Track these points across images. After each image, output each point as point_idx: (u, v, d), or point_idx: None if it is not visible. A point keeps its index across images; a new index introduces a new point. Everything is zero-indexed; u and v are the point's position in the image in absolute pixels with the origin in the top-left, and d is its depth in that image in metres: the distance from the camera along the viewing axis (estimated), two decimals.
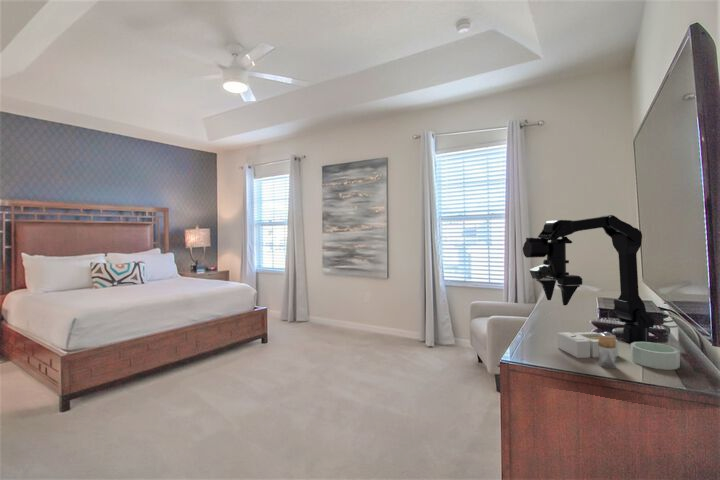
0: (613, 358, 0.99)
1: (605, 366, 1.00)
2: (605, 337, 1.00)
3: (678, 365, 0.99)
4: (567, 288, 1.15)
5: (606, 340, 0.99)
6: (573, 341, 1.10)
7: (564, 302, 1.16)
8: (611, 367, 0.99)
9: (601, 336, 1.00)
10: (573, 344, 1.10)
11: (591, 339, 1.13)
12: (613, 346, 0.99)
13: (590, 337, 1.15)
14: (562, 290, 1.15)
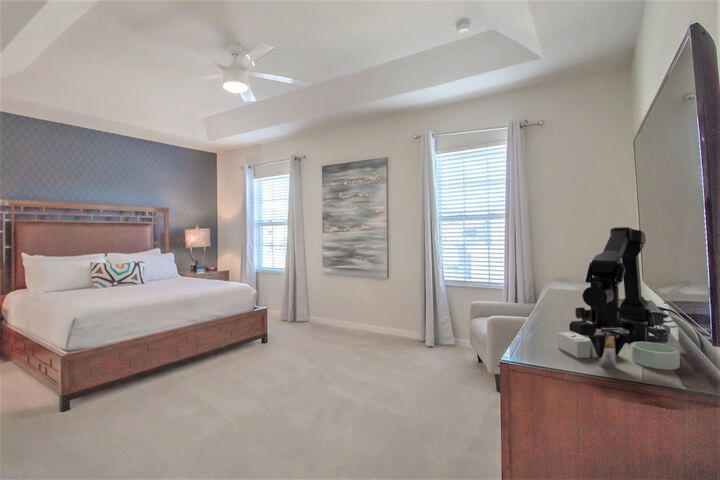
0: (613, 358, 0.99)
1: (605, 366, 1.00)
2: (605, 337, 1.00)
3: (678, 365, 0.99)
4: (595, 337, 1.01)
5: (606, 340, 0.99)
6: (573, 341, 1.10)
7: (597, 353, 1.01)
8: (611, 367, 0.99)
9: None
10: (573, 344, 1.10)
11: None
12: (613, 346, 0.99)
13: None
14: None
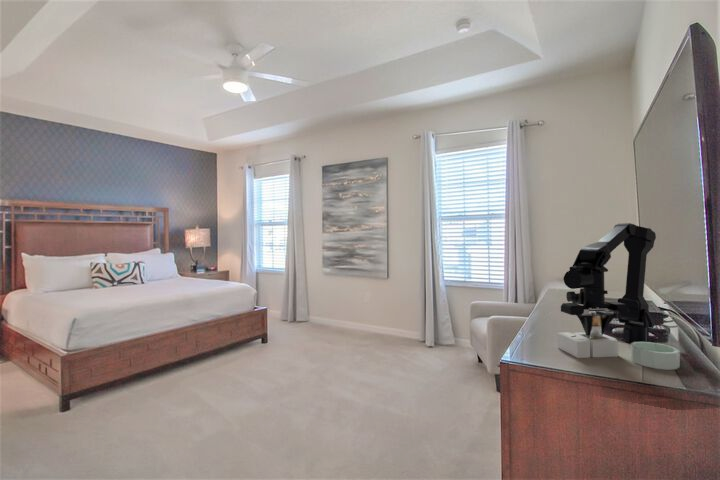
0: (599, 335, 1.11)
1: None
2: (592, 317, 1.12)
3: (678, 365, 0.99)
4: (584, 317, 1.13)
5: (593, 319, 1.12)
6: (573, 341, 1.10)
7: (585, 331, 1.14)
8: None
9: None
10: (573, 344, 1.10)
11: None
12: (599, 324, 1.11)
13: None
14: None
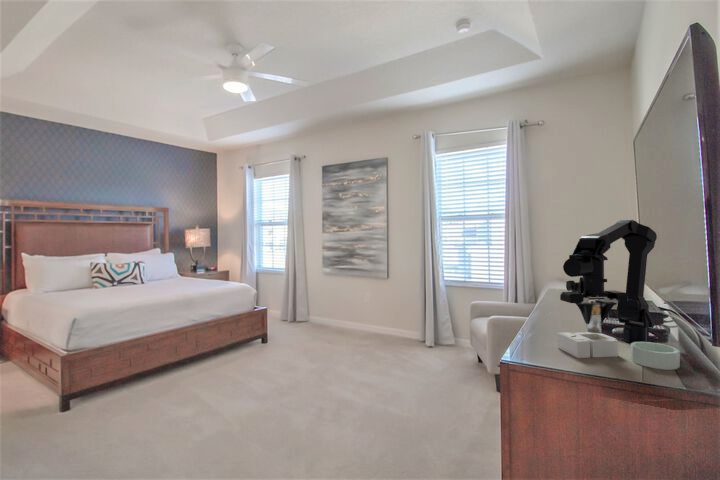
0: (599, 324, 1.11)
1: (592, 331, 1.12)
2: (592, 305, 1.12)
3: (678, 365, 0.99)
4: (583, 306, 1.13)
5: (593, 308, 1.11)
6: (573, 341, 1.10)
7: (584, 320, 1.14)
8: (597, 332, 1.11)
9: None
10: (573, 344, 1.10)
11: None
12: (599, 313, 1.11)
13: None
14: None
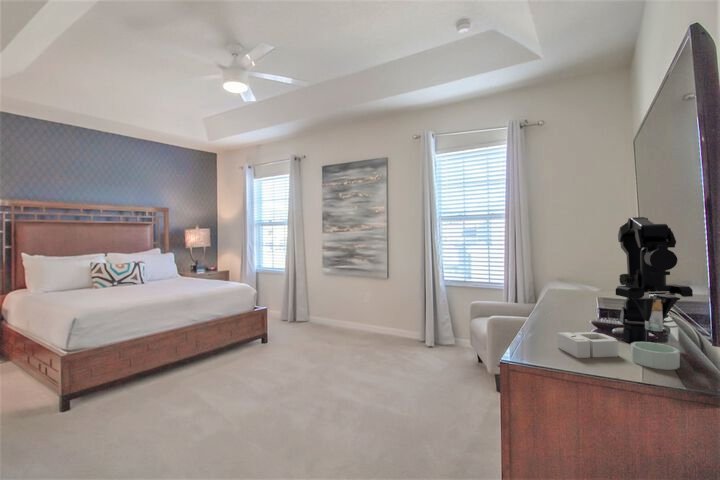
0: (660, 321, 1.01)
1: (652, 329, 1.01)
2: None
3: (678, 365, 0.99)
4: (642, 301, 1.02)
5: (654, 303, 1.01)
6: (573, 341, 1.10)
7: (643, 317, 1.03)
8: (658, 330, 1.01)
9: None
10: (573, 344, 1.10)
11: None
12: (661, 309, 1.01)
13: None
14: None
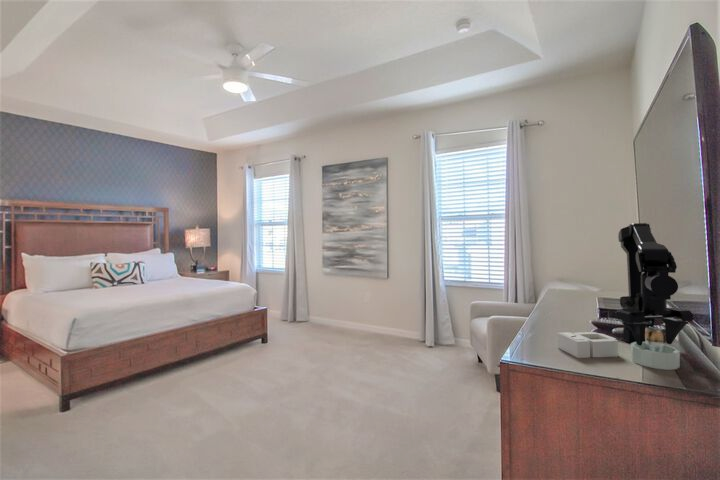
0: None
1: None
2: (653, 331, 1.01)
3: (678, 365, 0.99)
4: (635, 325, 1.02)
5: (655, 334, 1.01)
6: (573, 341, 1.10)
7: (636, 341, 1.03)
8: None
9: (649, 330, 1.02)
10: (573, 344, 1.10)
11: None
12: (661, 340, 1.01)
13: None
14: None
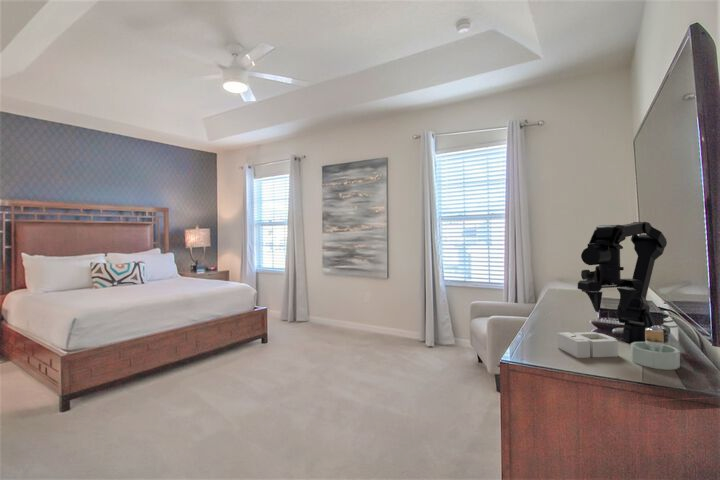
0: None
1: None
2: (653, 331, 1.01)
3: (678, 365, 0.99)
4: (593, 294, 1.15)
5: (655, 334, 1.01)
6: (573, 341, 1.10)
7: (594, 308, 1.15)
8: None
9: (649, 330, 1.02)
10: (573, 344, 1.10)
11: None
12: (661, 340, 1.01)
13: None
14: None
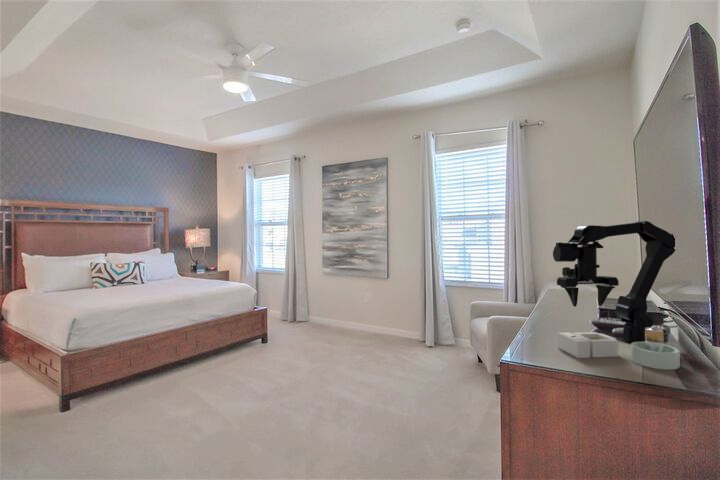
0: None
1: None
2: (653, 331, 1.01)
3: (678, 365, 0.99)
4: (571, 290, 1.23)
5: (654, 334, 1.01)
6: (573, 341, 1.10)
7: (572, 303, 1.24)
8: None
9: (649, 330, 1.02)
10: (573, 344, 1.10)
11: None
12: (661, 340, 1.01)
13: None
14: None
